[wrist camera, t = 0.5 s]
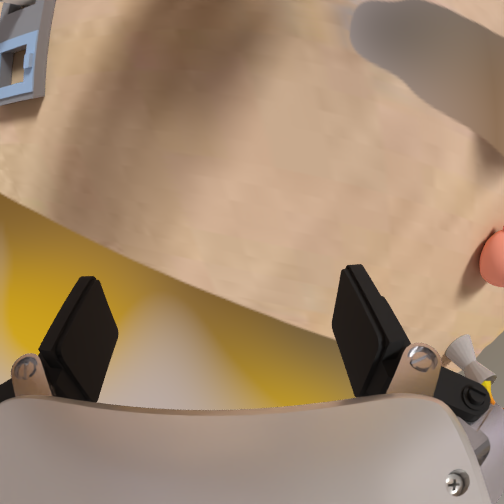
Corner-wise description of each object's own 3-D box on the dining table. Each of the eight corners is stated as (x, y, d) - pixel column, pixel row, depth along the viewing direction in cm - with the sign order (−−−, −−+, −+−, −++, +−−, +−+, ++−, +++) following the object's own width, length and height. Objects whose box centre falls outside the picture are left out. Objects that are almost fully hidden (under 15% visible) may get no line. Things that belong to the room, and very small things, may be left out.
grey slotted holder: (21, -24, 18) (6, -29, 14) (66, -41, 19) (52, -49, 15) (3, 104, 29) (-14, 109, 25) (44, 96, 30) (27, 99, 26)
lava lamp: (475, 336, 62) (533, 433, 32) (455, 358, 66) (505, 456, 36) (460, 332, 60) (522, 440, 30) (439, 356, 64) (491, 464, 34)
